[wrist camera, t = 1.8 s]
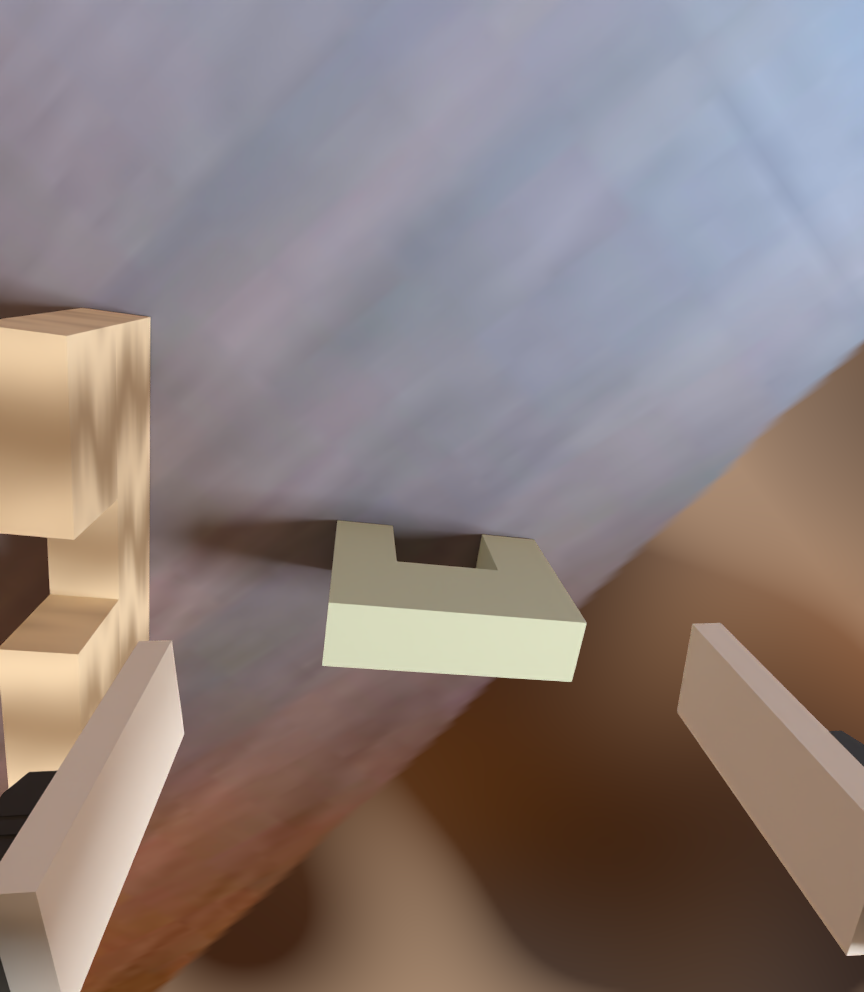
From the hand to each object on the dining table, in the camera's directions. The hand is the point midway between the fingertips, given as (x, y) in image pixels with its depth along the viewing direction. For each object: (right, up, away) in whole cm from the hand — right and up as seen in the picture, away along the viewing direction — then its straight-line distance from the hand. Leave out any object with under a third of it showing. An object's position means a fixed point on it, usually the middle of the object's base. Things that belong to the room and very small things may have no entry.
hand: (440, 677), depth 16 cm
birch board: (-16, +4, +17) cm, 24 cm away
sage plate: (0, +1, +19) cm, 19 cm away
